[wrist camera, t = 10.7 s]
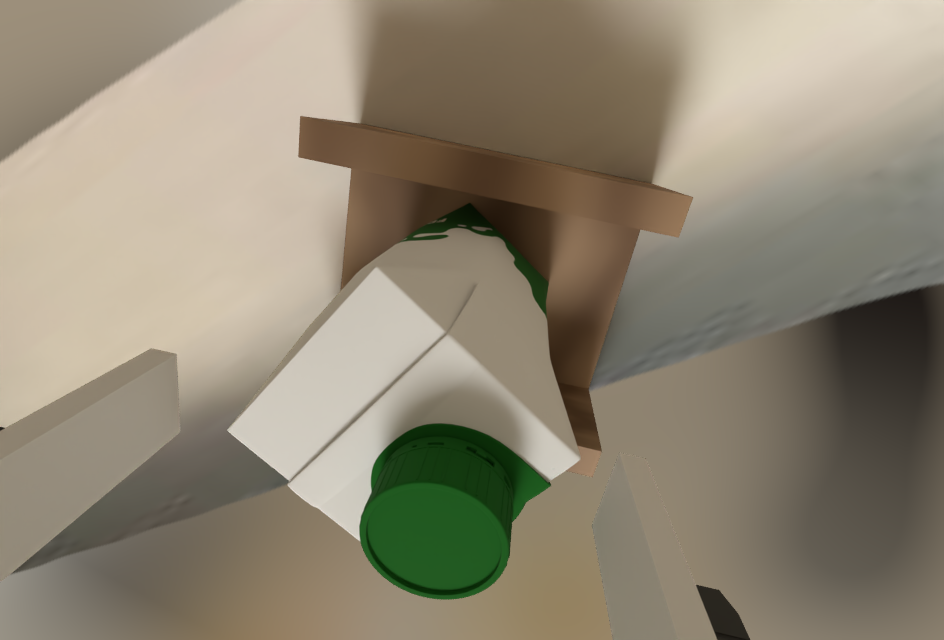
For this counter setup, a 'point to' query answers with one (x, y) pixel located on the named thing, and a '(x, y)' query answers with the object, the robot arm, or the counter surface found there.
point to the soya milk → (423, 407)
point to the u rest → (506, 230)
